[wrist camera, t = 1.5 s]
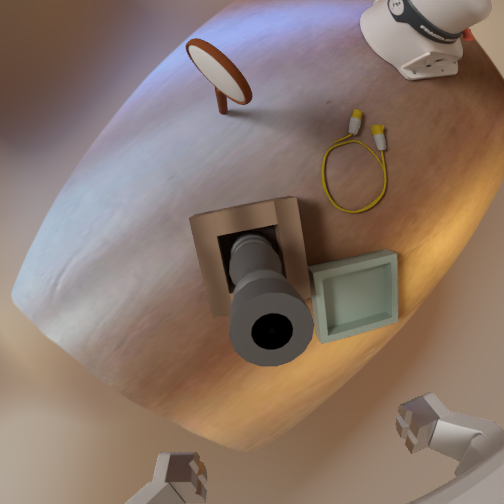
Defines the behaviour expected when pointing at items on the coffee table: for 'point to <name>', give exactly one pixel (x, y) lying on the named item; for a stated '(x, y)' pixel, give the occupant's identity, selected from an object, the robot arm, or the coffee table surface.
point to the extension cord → (379, 140)
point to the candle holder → (265, 305)
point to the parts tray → (354, 294)
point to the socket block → (240, 219)
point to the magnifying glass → (219, 73)
